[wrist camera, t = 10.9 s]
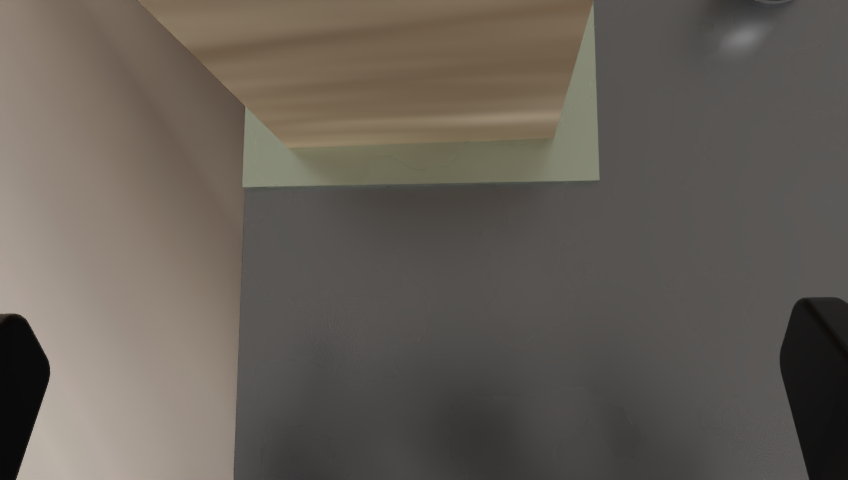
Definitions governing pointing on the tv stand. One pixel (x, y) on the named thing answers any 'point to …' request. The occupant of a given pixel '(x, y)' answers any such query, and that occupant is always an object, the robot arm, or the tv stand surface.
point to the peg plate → (559, 268)
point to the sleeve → (388, 65)
